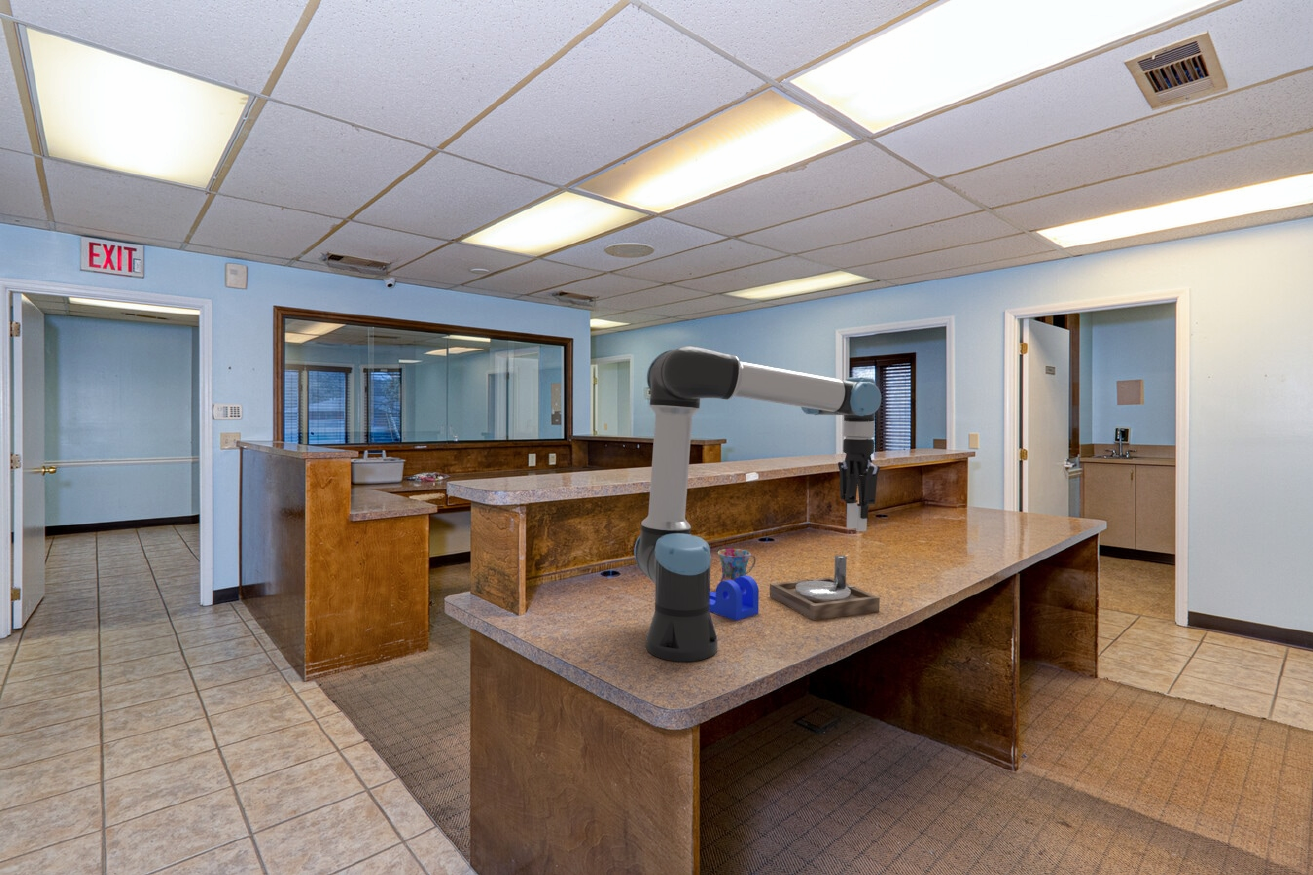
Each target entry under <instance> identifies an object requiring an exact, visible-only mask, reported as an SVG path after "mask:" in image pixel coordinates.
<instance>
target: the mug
mask: <svg viewBox="0 0 1313 875" xmlns="http://www.w3.org/2000/svg"><path fill="white" fill-rule="evenodd" d="M717 555H718V557H719V560H720V564H721V578H720V582H722V581H726V580H733V581H734V580H735V579H736V578H738V577H741V576H745V575H748V574H749V573H750V572H751V571H752V569H753V568H754V567H755V564H756V560H757V559H756V556H755V555H752V554H751V552H750V551H748V550H745V549H737V548H726V549H720V550H718V551H717ZM750 557H752V558H753V560H752V561H753V562H752V564H751V566H750V568H749V569H747V566H748V563H749V559H750ZM720 582H719V583H720ZM745 591H746V590H745Z"/></svg>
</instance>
